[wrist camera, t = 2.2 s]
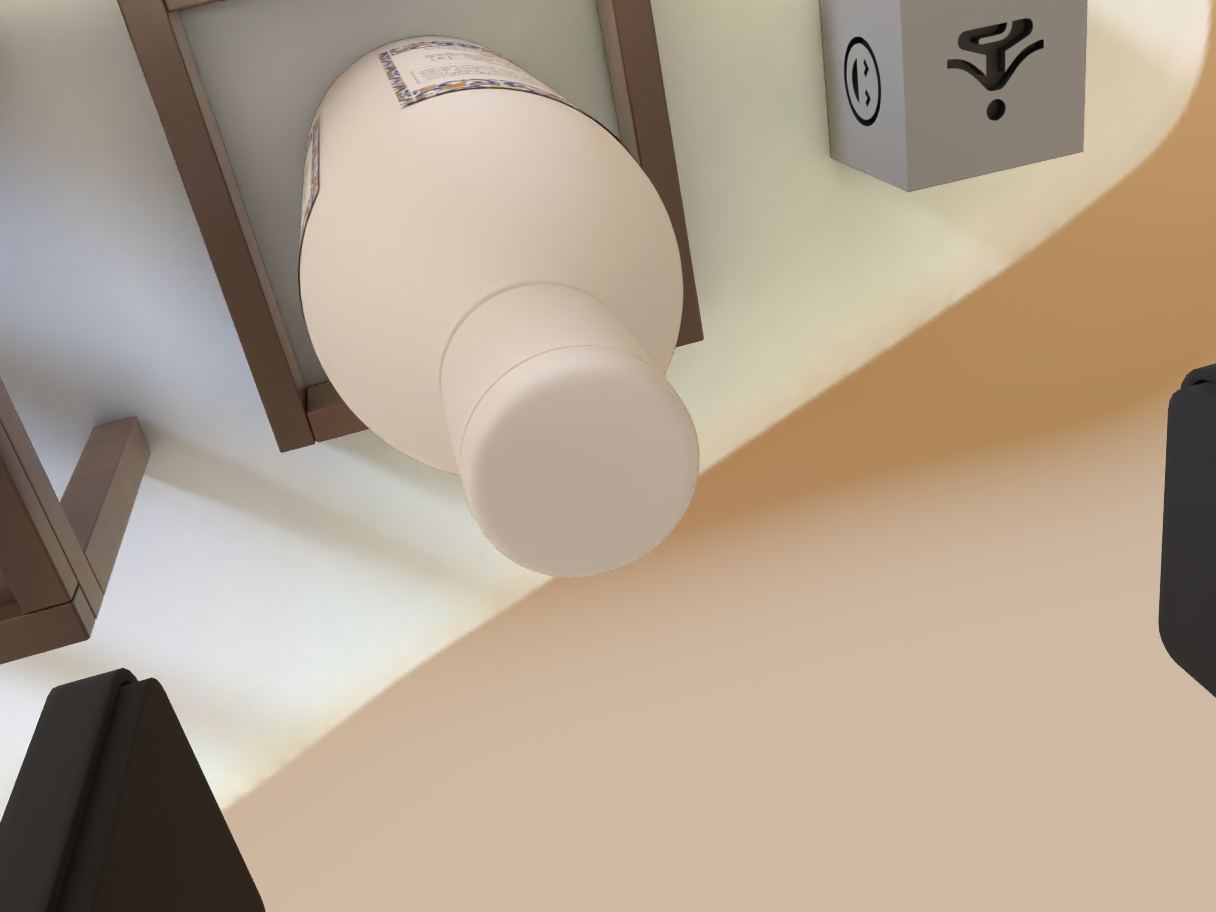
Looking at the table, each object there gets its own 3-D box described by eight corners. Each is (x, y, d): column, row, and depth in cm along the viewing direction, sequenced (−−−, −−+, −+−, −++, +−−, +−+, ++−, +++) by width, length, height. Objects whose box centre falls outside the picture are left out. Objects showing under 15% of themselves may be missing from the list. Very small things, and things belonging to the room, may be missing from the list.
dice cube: (982, -55, 32) (1089, -53, 28) (984, 123, 34) (1083, 151, 30) (817, -22, 31) (899, -14, 27) (831, 157, 34) (908, 192, 29)
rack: (-280, 574, 31) (-509, 820, 23) (-577, 121, 26) (-1034, 218, 17) (685, 319, 35) (806, 449, 26) (610, -130, 29) (734, -155, 20)
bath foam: (431, 336, 33) (559, 802, 15) (249, 158, 30) (149, 488, 12) (608, 175, 32) (955, 472, 15) (440, -26, 29) (627, 45, 12)
